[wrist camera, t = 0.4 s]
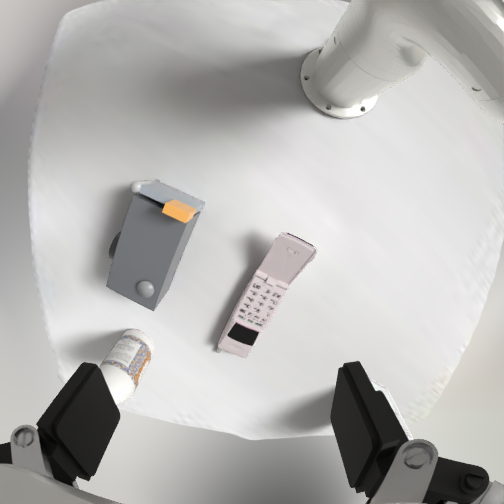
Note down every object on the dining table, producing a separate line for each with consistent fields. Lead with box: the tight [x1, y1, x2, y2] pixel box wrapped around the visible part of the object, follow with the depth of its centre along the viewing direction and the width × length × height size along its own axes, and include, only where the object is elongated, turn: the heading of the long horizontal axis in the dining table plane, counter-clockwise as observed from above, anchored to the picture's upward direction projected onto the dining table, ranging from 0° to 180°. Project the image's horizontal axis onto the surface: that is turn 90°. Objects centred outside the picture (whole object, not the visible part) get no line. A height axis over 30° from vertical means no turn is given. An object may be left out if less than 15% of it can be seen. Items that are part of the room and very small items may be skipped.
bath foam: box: [99, 329, 154, 405], centre depth 39 cm, size 7×7×20 cm
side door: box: [130, 179, 205, 223], centre depth 35 cm, size 1×9×11 cm, turn 64°
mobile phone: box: [216, 232, 317, 358], centre depth 42 cm, size 6×6×25 cm
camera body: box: [106, 194, 200, 311], centre depth 38 cm, size 14×10×9 cm
